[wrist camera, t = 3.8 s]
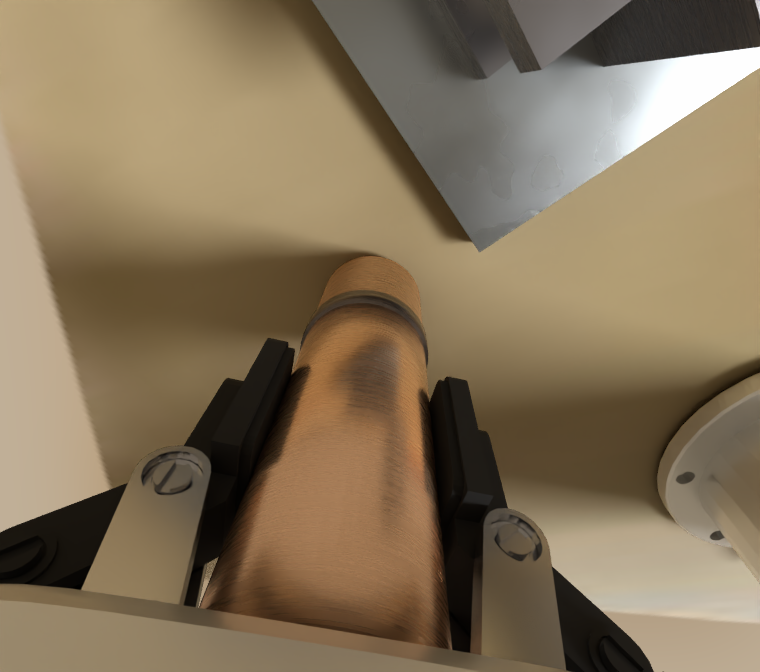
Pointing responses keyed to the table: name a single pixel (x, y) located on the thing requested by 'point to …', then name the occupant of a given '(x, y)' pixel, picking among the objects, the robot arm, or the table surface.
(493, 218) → the grey plate with frame
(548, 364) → the table surface
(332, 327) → the bottle
